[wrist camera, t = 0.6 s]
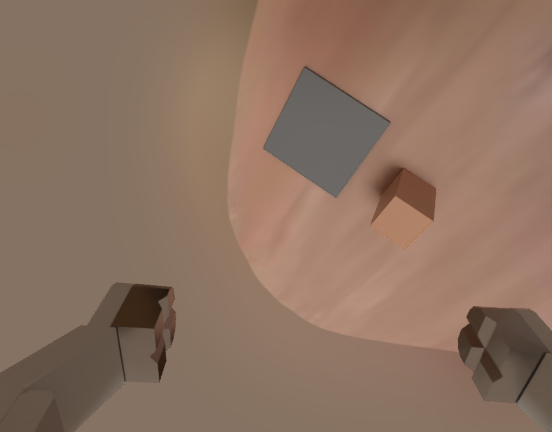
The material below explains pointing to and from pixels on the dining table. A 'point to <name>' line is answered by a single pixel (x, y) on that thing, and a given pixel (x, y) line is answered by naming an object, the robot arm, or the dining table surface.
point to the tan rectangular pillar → (405, 209)
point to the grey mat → (324, 132)
